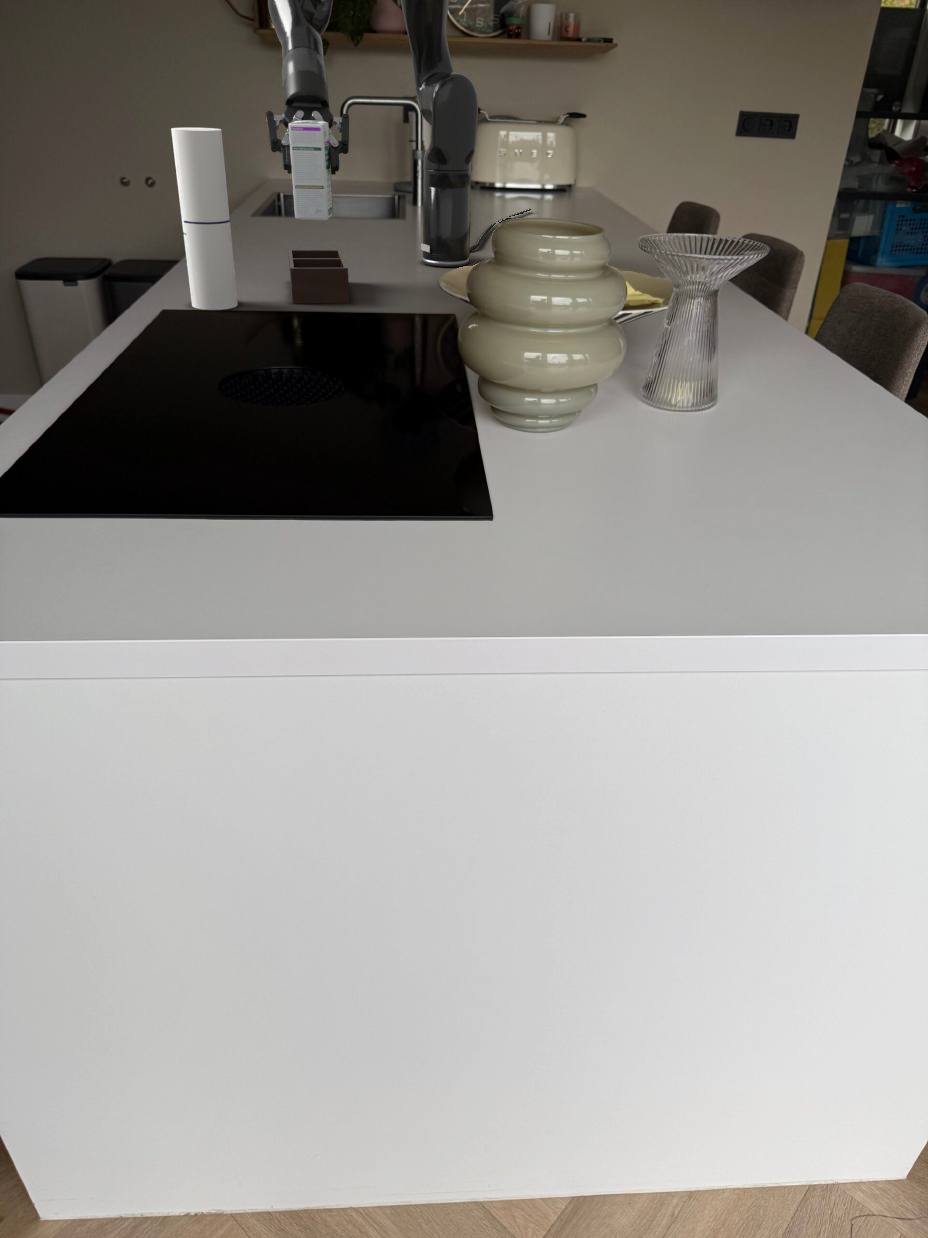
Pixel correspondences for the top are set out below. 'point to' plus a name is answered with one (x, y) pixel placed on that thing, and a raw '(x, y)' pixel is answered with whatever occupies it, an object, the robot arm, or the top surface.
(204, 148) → the cylindrical container
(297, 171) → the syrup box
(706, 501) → the top surface
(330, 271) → the compartment organizer box
